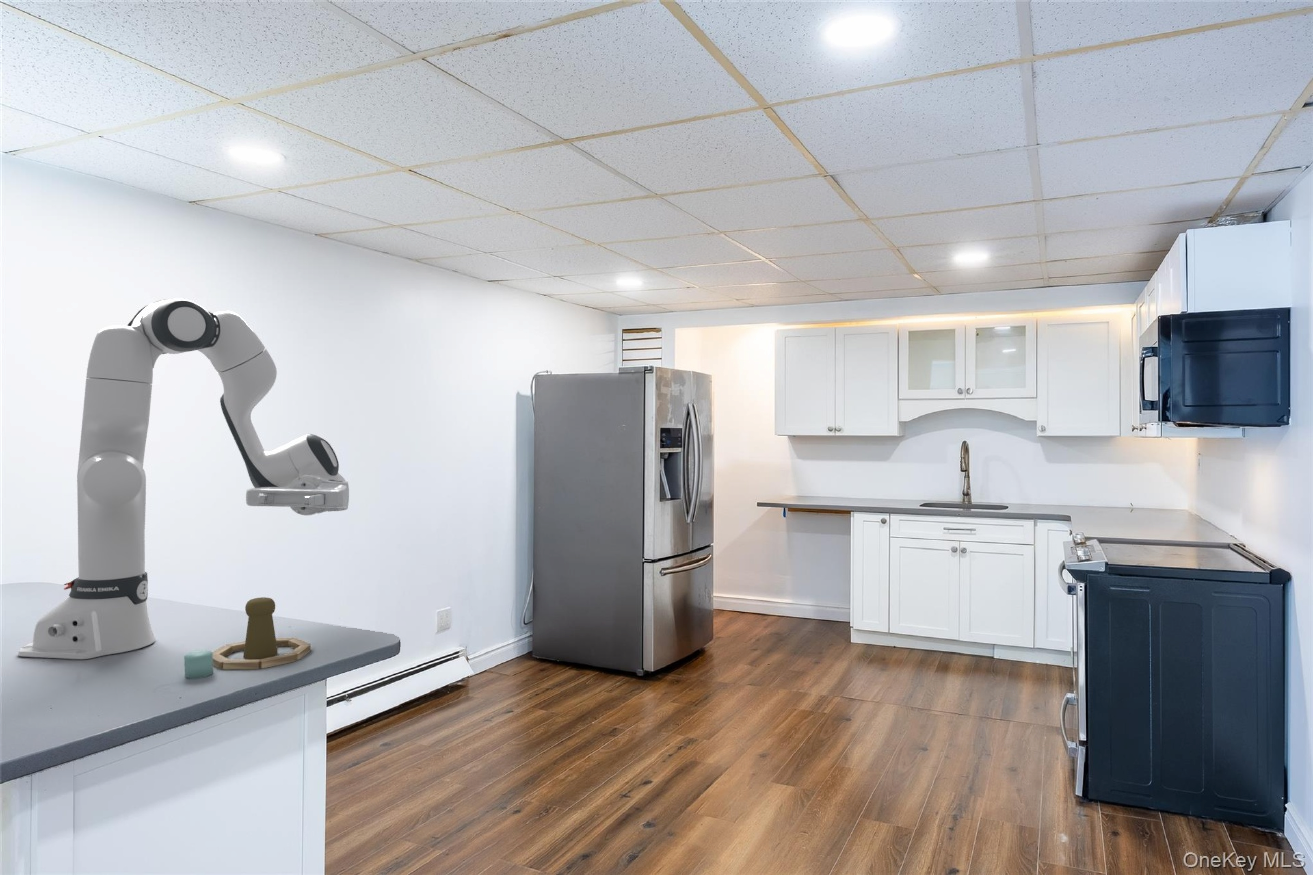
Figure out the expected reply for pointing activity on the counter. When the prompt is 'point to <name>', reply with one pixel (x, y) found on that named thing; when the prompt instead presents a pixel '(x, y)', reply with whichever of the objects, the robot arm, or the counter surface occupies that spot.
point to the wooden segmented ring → (225, 663)
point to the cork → (260, 629)
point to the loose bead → (198, 664)
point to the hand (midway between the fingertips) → (284, 500)
